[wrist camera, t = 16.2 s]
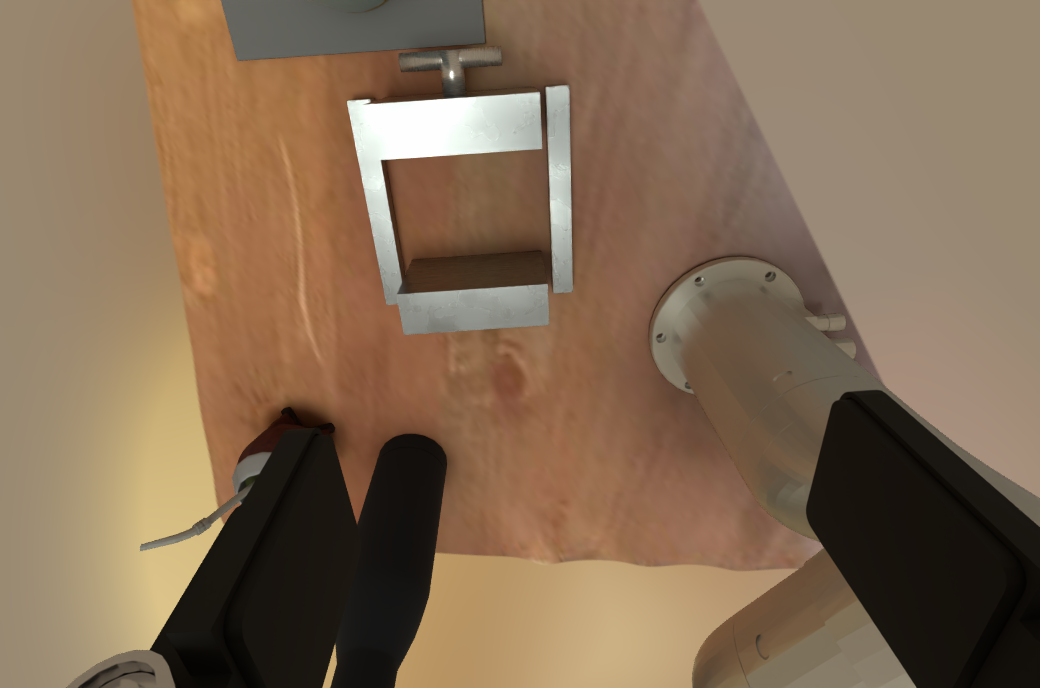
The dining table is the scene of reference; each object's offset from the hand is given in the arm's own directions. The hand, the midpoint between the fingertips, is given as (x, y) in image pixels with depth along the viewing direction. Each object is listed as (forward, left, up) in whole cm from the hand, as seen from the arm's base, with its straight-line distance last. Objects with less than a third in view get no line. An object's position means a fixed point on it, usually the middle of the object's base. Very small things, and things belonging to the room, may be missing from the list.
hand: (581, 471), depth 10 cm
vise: (+4, +1, -32) cm, 33 cm away
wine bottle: (+12, +26, -32) cm, 43 cm away
